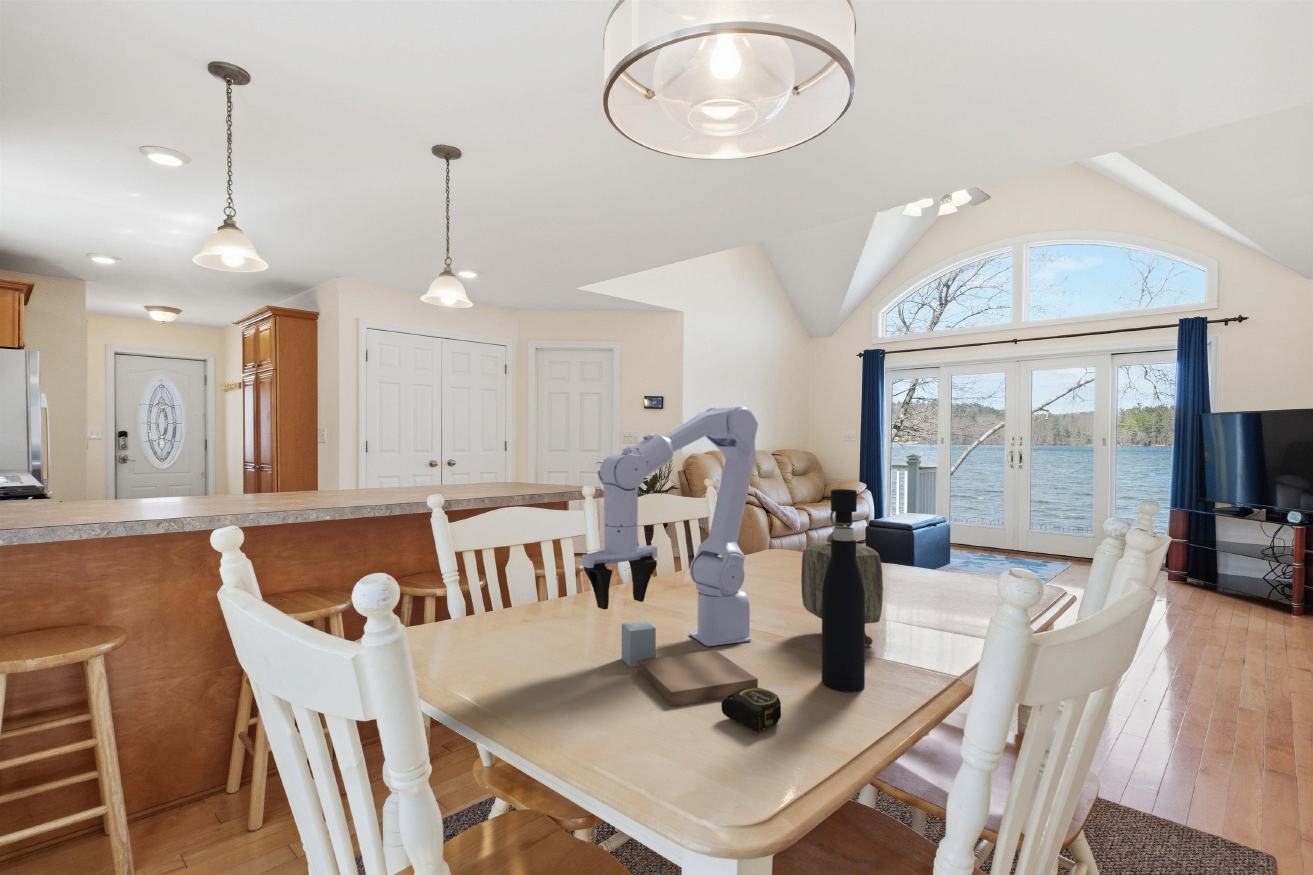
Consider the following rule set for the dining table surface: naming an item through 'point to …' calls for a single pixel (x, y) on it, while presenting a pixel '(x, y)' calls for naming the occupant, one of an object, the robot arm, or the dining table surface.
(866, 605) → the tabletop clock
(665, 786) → the dining table surface
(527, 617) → the dining table surface
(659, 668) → the walnut base
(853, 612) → the wine bottle
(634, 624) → the slate block
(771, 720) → the tape measure
